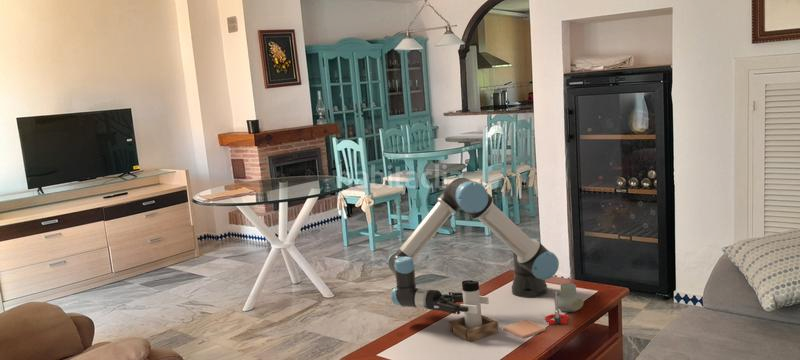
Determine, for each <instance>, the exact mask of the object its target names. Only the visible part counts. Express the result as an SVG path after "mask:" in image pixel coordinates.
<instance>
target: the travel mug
mask: <svg viewBox="0 0 800 360" xmlns="http://www.w3.org/2000/svg"><path fill="white" fill-rule="evenodd" d="M479 283H480V282H479V280H478V281H477V280H473V279H471V280H470V279H467V280H462V281H461V287H462V290H461V291H462V293H463V302H462V304H465V305H475V306H477V309H478V313H477V314H476V313H467V312H463V314H464V315H463V317H465V327H467V328H469V329H472V328H475V327H478V326H481V325H482V317H481V315H482V306H481V303H480V296H481V295H480V284H479Z"/></svg>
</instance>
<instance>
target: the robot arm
mask: <svg viewBox="0 0 800 360" xmlns="http://www.w3.org/2000/svg"><path fill="white" fill-rule="evenodd" d="M459 209H461V210H462V211H464V213H465V214H466V215H467V216H468V217H470V218H471V220H479V222H481V223H482V224H483V225H484V226H485V227H486V228H487V229H489V231H490V232H491V233H493V235H495V237H497V238H498V239H499V240H500V241H501V242H502V243H503V244H505V246H506V247H508V248H509V249H510V250H511V251H512V256H513V269H514V277H513V280H512V285H511V294H513V295H514V296H518V297H521V298H533V297H534V298H535V297H540V296H543V295H545V294H547V293H548V284H547V282H546V281H547V280H549V279H551V278H553V277H554V276H555V275H556V274H557V272H558V270H559V264H560V262H559V259H558V257H557V255H556V254H555V253H554V252H552V251H550V250H548V248H546V247H545V246H544V245H543V244H542V243H541V241H540V239H539V238H530V237H529V236H528V235H527V233H525V232H524V231H523V230H522V229H521V228H520V227H519V226H517V224H515V222H514V221H512V220H511V218H509V217H508V216H507V215H506V214H505V213H504V212H503V211H502V210H501V209H500V208H499V207H498V206H497V205H496V204H494V197H492V196H491V195H490V194H489V192H488V191H487V189H486V188H485V187H484V186H483V184H481V183H480V182H478V181H473V180H472V179H469V178H466V177H458V178H455V179H454V180H452V181H451V182H450V183H449V184H448V185H447V186H446V187H445V189H444V190H443V191H442V192H441V193H440V194H439V195H438V197H437V202H436V203H435V205H434V206H433V207H432V208H431V210H430V211H429V212H428V213H427V215H426V216H425V217H424V218H423V220H422V221H421V222H420V223H419V224H418V225H417V227H416V228H415V229H414V231H412V233H411V234H410V235H409V236H408V237H407V239H406V240H405V241H404V242H403V244H402V245H401V247H400V248H399V249H398V250H397V251H396V252H393V253H392V254H390V255H389V257H388V258H387V264H388V269H390V271H391V272H392V273H393V274H394V276H395V280H396V281H395V282H396V286H394V288H392V290H391V295H390V297H391V302H392V304H394V305H395V306H399V307H402V308H405V307H406V308H417V309H421V310H432V311H440V312H445V313H449V314H453V315H461V313H464V312H467V313H476V314H477V313H478V309H477V306H475V305H465V304H463V292H453V291H449V292H448V294H446V293H445V294H442V293H441V291H440V290H438V289H427V288H418V287H417V286H416V285H417V284H416V273H415V271H416V270H415V263H414V260H415V259H416V258H417V257H418V255H419V254H420V253H421V252H422V250H423V249H424V248H425V247H426V245H427V244H428V243H430V241H431V240H432V239H433V237H434V236H435V235H436V233H437V232H438V231H439V229H441V228H442V226H443V225H444V224H445V222H447V220H448V219H449V218H450V217H451V215H452V214H456V213H457V212H458V211H459ZM458 303H461V304H458ZM480 304H483V305H489V304H490V302H489V296H486V295H484V296H483V295H480Z"/></svg>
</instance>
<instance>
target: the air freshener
mask: <svg viewBox="0 0 800 360" xmlns="http://www.w3.org/2000/svg"><path fill="white" fill-rule="evenodd" d="M576 285H577V284H574V283H572V282H563V283H562V284H560V294H559V295H557V296H558V308H559V311H560V310H561V311H562V312H566V313H567V312H569V313H574V312H577V311H578V310H581V308H582V307H583V306H584V298H582V296H581V295H579V294H577V286H576Z"/></svg>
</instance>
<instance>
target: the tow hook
mask: <svg viewBox="0 0 800 360" xmlns="http://www.w3.org/2000/svg"><path fill="white" fill-rule="evenodd" d="M558 296H559V295H558V290H554V309H555V310H554V314H553V313H552V314H548V315H546V316H545V321H546V322H548V325H567V324H568V321H569V316H567V315H565V314H560V309H559V308H558ZM552 318H554V319H552Z"/></svg>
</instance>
